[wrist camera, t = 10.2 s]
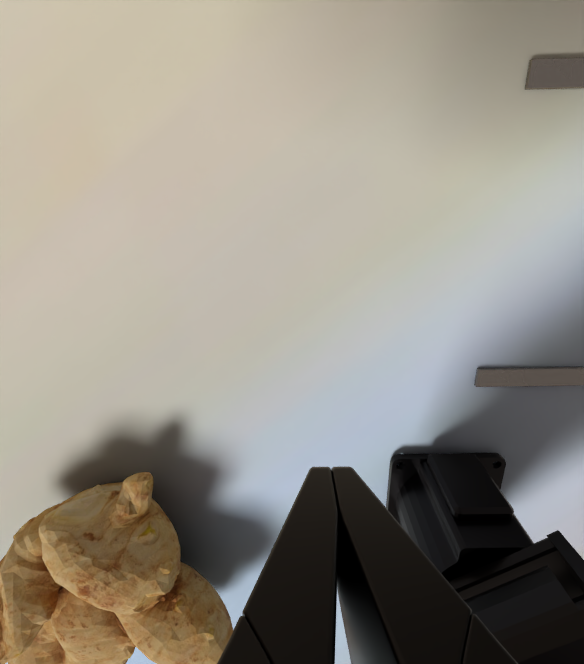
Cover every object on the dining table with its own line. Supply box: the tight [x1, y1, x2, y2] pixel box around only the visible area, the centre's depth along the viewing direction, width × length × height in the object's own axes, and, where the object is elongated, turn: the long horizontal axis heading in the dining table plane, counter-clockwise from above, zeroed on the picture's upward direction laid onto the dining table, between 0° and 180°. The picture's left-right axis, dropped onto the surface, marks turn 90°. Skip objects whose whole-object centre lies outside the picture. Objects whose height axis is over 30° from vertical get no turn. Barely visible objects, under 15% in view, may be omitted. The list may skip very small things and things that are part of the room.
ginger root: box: [0, 472, 233, 664], centre depth 22 cm, size 16×16×8 cm
